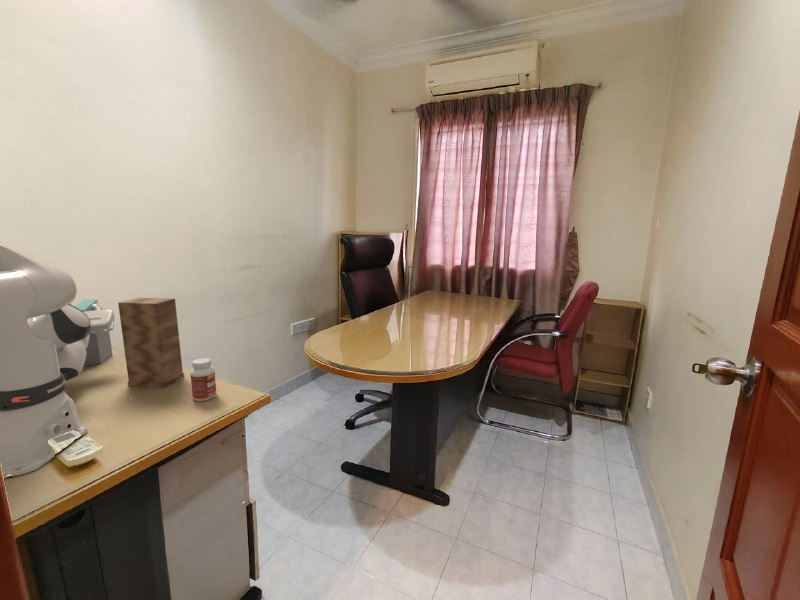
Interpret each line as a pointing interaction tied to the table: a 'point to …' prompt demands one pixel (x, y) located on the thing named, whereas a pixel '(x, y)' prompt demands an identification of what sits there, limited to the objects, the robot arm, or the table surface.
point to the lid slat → (86, 305)
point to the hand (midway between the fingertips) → (77, 306)
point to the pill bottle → (203, 380)
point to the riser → (98, 349)
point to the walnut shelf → (151, 341)
